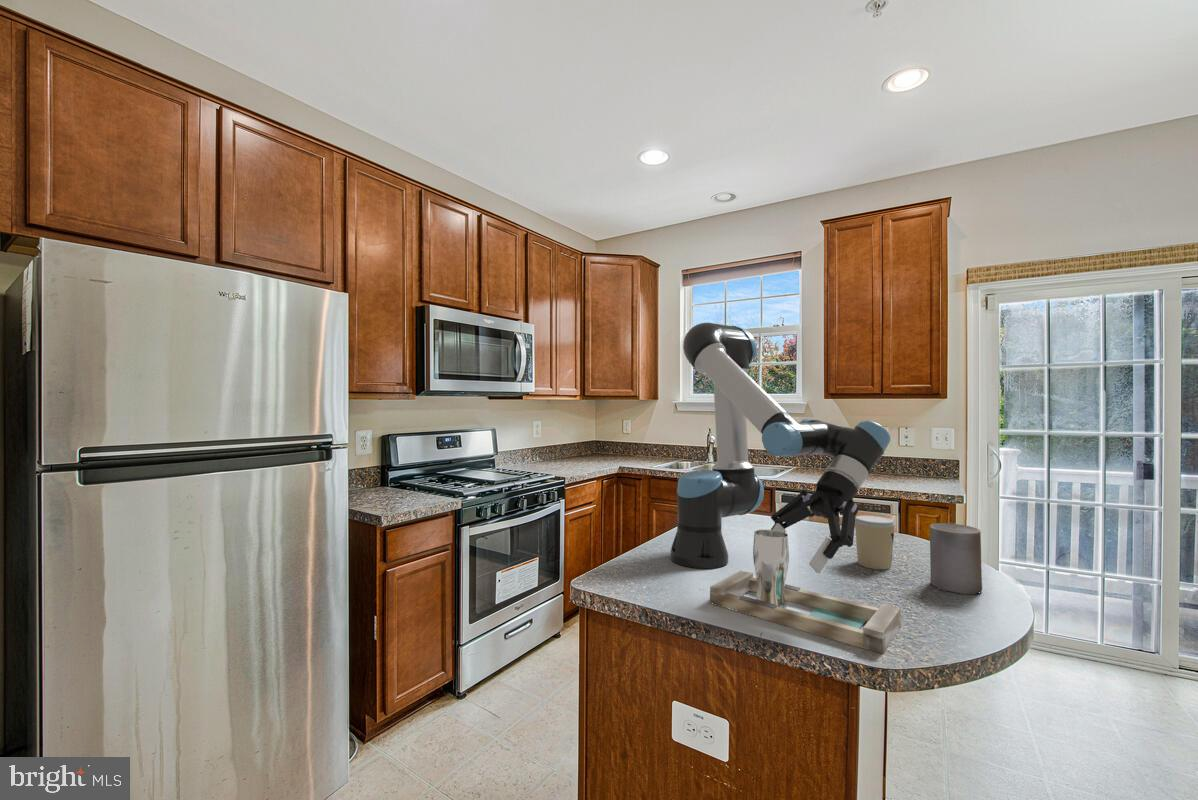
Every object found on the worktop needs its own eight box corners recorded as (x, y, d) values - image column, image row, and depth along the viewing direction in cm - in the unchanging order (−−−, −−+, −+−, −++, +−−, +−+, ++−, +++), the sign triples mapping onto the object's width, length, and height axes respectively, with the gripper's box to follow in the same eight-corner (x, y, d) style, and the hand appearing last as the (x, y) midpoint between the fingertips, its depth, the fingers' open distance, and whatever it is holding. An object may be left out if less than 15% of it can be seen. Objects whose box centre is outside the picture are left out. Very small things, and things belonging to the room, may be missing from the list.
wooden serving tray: (709, 603, 105) (709, 586, 105) (740, 585, 115) (740, 570, 115) (882, 654, 83) (882, 632, 84) (900, 626, 94) (900, 607, 94)
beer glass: (751, 610, 101) (751, 535, 102) (754, 598, 108) (754, 527, 108) (788, 615, 99) (788, 538, 99) (789, 603, 105) (789, 531, 106)
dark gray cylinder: (960, 580, 121) (959, 517, 121) (993, 595, 111) (991, 526, 111) (920, 580, 120) (919, 517, 121) (949, 595, 111) (948, 527, 111)
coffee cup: (902, 570, 127) (902, 523, 127) (865, 570, 127) (865, 522, 128) (882, 559, 137) (882, 515, 137) (847, 559, 137) (847, 514, 137)
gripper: (904, 502, 99) (849, 590, 93) (806, 484, 122) (757, 554, 116) (884, 476, 97) (827, 565, 91) (789, 463, 120) (738, 533, 114)
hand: (788, 559), depth 103 cm, fingers open, 13 cm apart
